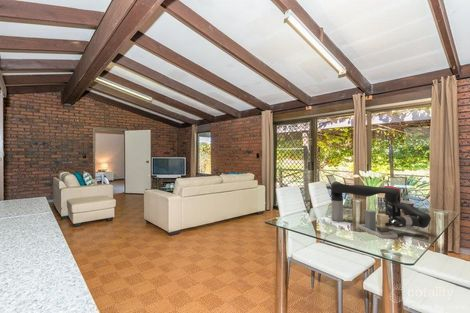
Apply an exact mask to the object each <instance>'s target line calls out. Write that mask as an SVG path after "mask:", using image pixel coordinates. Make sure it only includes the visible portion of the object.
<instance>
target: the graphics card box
mask: <svg viewBox="0 0 470 313" xmlns="http://www.w3.org/2000/svg"><path fill="white" fill-rule="evenodd" d="M384 187H386V188H395V189H397V190H399V196H398V199H397V200H398V201H399V202H400V203H401V189H400V188H397V187H395V186H393V185H385V186H384ZM384 202H385V203H384V204H385V215H388V216H389V219H393V218H394V217H396V216H402V215H401V209H400V208H398V207H396V206H394V205H393V204H391V203H389V202H388V201H386V200H385V199H384Z"/></svg>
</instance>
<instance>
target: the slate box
mask: <svg viewBox="0 0 470 313" xmlns="http://www.w3.org/2000/svg"><path fill="white" fill-rule="evenodd" d="M376 213H377V212H376V211H375V210H373V209H365V210H364V224H365V228H367V229H370V230H376V226H377V214H376Z"/></svg>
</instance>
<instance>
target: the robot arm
mask: <svg viewBox="0 0 470 313" xmlns="http://www.w3.org/2000/svg"><path fill="white" fill-rule="evenodd" d="M395 188H396V187H395ZM395 188H386V187H385V186H384V187H383V186H373V185H365V184H345V183H341V182H340V181H334V182H332V183H331V186H330V192H331V193H330V196H331V221H334V220H335V222H342V221H344V198H343V194H349V195H353V196H360V197H372V196H375V195H379V194H384V197H383V198H384V201H385V200H386V201H388V202H389V203H391V204H393V205H394V206H396V207H398V208H400V211H402V212H403V211H404V212H406V213H407V214H408V215H401V216H396V217H394V218H393V219H391V218H389V223H385V226H389V227H391V228H392V227H394V228H397V229H398V228H408V227H417V228H422V229H425V228H426V229H427V228H428V226H429V224H430V223H431V220H432V217H431V215H430V214H429V213H426V212H424V211H421V210H419V209H418V208H416V207H415V206H414V205H413V206H412V205H410V204H406V203H401V201H400V202H399V201H398V200H397V199H398V196H399V190H397V189H395Z"/></svg>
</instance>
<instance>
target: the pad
mask: <svg viewBox="0 0 470 313" xmlns="http://www.w3.org/2000/svg"><path fill="white" fill-rule="evenodd" d="M351 234H352V235H354V236H356V237H357V238H359V239H360V240H362V241H365V242H367V241H379V240H380V241H381V238H379V237H377V236H375V235H373V234H371V233H369V232H367V231H363V232H362V231H361V232H351Z"/></svg>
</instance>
